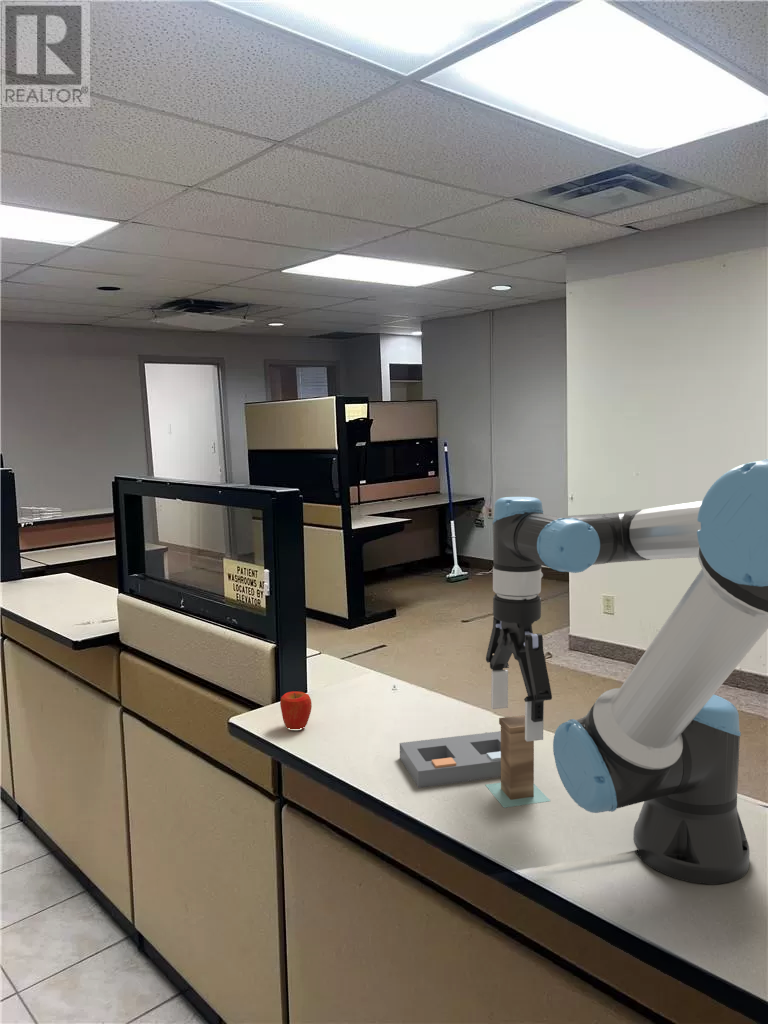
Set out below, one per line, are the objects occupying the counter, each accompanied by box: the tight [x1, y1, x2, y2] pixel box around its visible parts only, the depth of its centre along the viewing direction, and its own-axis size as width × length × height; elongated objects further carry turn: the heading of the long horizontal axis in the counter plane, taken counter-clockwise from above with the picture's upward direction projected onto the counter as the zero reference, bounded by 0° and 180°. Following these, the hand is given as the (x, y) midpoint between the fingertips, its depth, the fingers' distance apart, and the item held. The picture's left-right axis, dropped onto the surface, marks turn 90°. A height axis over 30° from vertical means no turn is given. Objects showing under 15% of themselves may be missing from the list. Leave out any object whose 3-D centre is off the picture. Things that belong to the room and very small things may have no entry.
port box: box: [399, 730, 501, 789], centre depth 132 cm, size 12×20×4 cm, turn 104°
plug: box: [498, 714, 535, 800], centre depth 121 cm, size 4×4×12 cm
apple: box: [279, 691, 313, 729], centre depth 153 cm, size 6×6×8 cm
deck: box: [484, 782, 551, 809], centre depth 121 cm, size 8×8×1 cm
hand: (515, 723), depth 120 cm, fingers open, 13 cm apart
